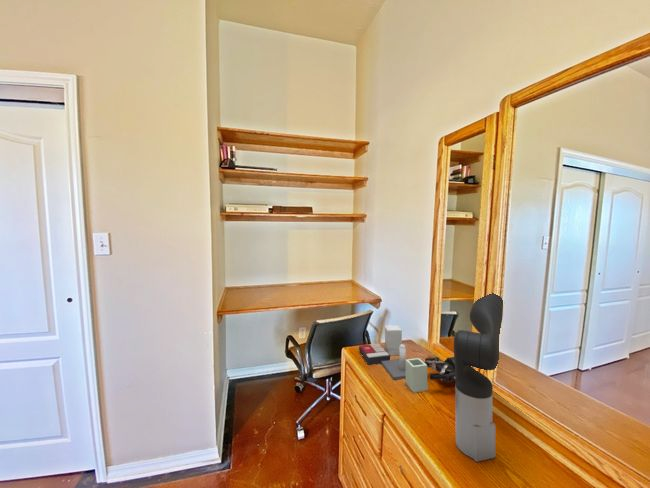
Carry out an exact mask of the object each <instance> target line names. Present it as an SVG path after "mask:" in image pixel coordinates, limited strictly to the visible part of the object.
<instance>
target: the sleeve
mask: <svg viewBox="0 0 650 488" xmlns="http://www.w3.org/2000/svg"><path fill="white" fill-rule="evenodd" d="M424 362H425V361H423V360H422V359H421V358H420V357H417V358H408V359H407V360H405V365H406V378H405V385H406V386H407V387H408V388H409V390H411V393H419V392H425V391H428V389H429V388H428V387H429V385H428V367H427V365H426V364H425V363H424Z"/></svg>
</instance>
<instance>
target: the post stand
mask: <svg viewBox="0 0 650 488" xmlns="http://www.w3.org/2000/svg"><path fill="white" fill-rule="evenodd" d="M406 348H407V347H406V345H405V344H403V343H402V344H401V345H400V346H399V350H400V355H399V358H395V359H394V358H393V359H390V360H387V361H381V364H380V365H382V367H383V368H384V369H385V371H386V372H387V373H388V375H390V377H391V378H392V379H393V380H394V381H396V380H397V381H398V380H403V379H405V380H406V365H405V360H407V359H409V358H408V357H407V354H406V353H407V351H406V350H407V349H406Z"/></svg>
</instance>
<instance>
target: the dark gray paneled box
mask: <svg viewBox="0 0 650 488" xmlns="http://www.w3.org/2000/svg"><path fill="white" fill-rule="evenodd" d="M359 350H360V352H361V353H360V352H359V353H360V355H361V354H362V355H363V356H362V355H361V356H362V358H363V357H364V358H363V359H364V361H365V360H366V361H365V363H366V362H367V363H366V364H367V365H368V366H373V364H376V365H382V364H381V361H387V360H391V355H389V354H388V353H387V352H386V350H385V348H384V347H382V346H381V344H379V343H372V344H371V343H370V344H360V345H359V346H358V351H359Z"/></svg>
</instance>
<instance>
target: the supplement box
mask: <svg viewBox="0 0 650 488" xmlns="http://www.w3.org/2000/svg"><path fill="white" fill-rule="evenodd" d="M402 331H403V330H402V329H401V327H400V325H399V324H398V325H397V324H394V325H393V324H392V325H391V324H389V325H387V324H386V325H384V350H385V349H386V350H385V351H386V352H387V353H388V354H389V355H390V356H400V350H399V346H400V345H401V344H403V342H402V341H403V336H402V335H403V334H402V333H403V332H402Z"/></svg>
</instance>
